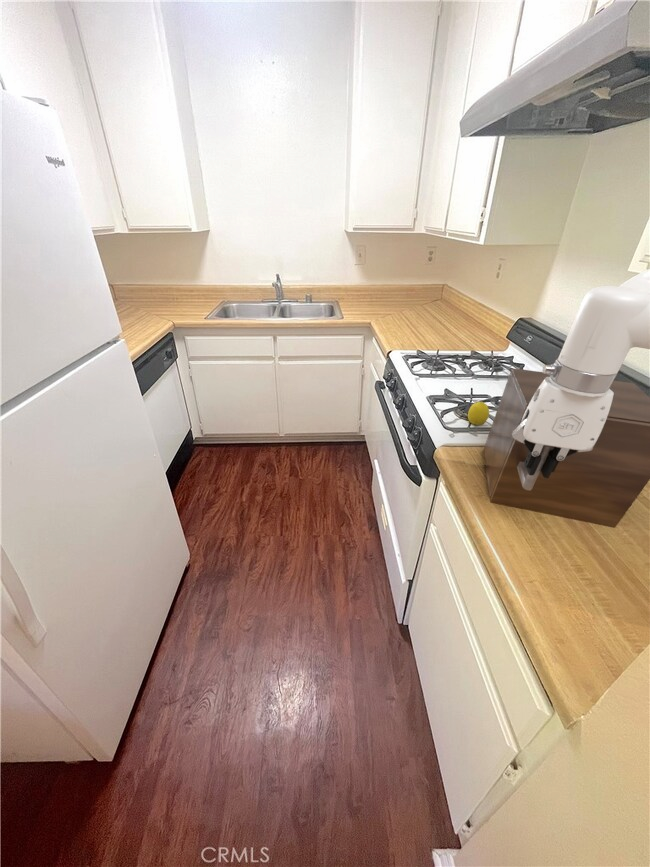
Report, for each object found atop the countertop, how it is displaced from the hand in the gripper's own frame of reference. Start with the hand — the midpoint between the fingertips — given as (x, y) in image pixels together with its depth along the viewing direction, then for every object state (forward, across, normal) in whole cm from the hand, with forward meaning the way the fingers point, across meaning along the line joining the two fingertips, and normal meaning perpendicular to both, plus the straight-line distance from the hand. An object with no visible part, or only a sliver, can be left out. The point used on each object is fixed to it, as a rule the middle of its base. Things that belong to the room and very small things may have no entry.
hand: (536, 471), depth 61 cm
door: (+15, +9, +4) cm, 18 cm away
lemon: (+15, -4, +40) cm, 43 cm away
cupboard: (+15, +9, +17) cm, 24 cm away
